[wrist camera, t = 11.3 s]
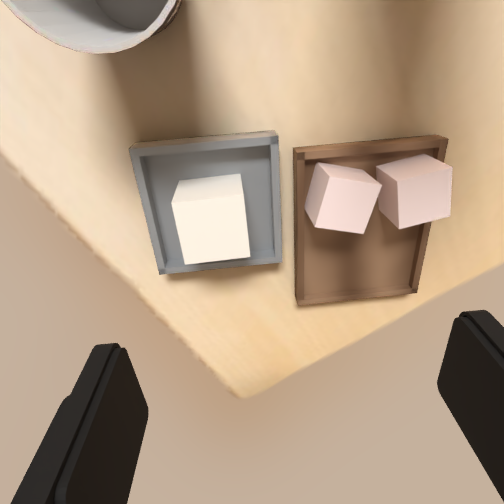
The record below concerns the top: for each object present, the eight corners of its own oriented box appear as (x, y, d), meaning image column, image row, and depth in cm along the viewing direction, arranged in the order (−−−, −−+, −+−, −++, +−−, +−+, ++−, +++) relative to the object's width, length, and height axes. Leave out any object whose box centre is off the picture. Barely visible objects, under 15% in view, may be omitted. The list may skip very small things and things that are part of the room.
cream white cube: (240, 173, 28) (243, 194, 24) (246, 228, 31) (250, 256, 26) (179, 180, 28) (171, 203, 24) (190, 235, 30) (185, 264, 26)
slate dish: (274, 130, 27) (278, 135, 25) (278, 250, 33) (282, 262, 31) (135, 142, 27) (128, 149, 25) (163, 261, 32) (159, 274, 31)
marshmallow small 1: (424, 153, 28) (452, 166, 25) (423, 198, 30) (450, 216, 27) (375, 166, 28) (397, 181, 25) (378, 209, 30) (399, 229, 27)
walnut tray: (436, 134, 28) (448, 138, 27) (408, 283, 36) (416, 292, 34) (293, 147, 28) (297, 152, 27) (294, 295, 36) (298, 305, 34)
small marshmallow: (362, 169, 28) (381, 185, 25) (347, 213, 30) (363, 234, 27) (316, 161, 28) (329, 176, 24) (303, 207, 30) (314, 227, 26)
